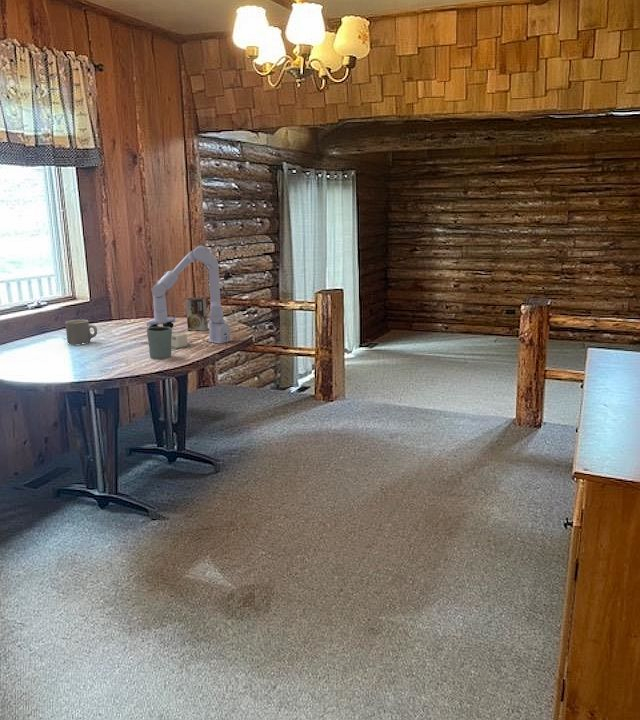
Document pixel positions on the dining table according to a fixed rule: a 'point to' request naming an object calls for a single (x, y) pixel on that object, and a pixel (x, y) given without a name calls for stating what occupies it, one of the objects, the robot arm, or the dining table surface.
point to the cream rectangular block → (178, 339)
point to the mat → (171, 346)
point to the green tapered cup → (159, 342)
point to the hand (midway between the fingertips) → (162, 339)
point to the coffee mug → (79, 331)
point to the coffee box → (196, 313)
